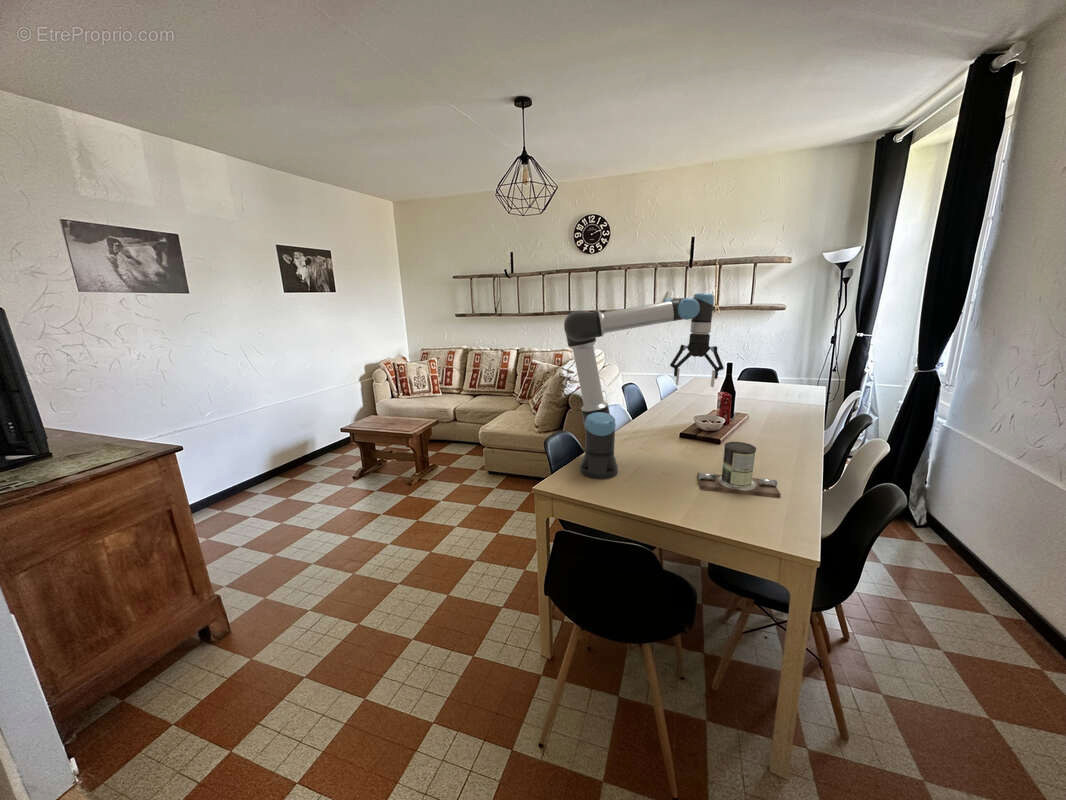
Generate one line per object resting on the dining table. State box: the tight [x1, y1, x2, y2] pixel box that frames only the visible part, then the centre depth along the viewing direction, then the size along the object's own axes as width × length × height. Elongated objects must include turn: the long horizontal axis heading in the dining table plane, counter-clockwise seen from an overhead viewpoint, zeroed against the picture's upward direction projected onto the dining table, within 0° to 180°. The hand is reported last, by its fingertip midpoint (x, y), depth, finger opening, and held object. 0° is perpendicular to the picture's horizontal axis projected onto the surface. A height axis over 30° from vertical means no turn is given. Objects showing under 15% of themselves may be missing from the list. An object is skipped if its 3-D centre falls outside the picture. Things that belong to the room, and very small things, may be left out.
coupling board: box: [696, 472, 781, 499], centre depth 152 cm, size 26×13×2 cm, turn 74°
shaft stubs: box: [698, 472, 778, 488], centre depth 152 cm, size 26×2×2 cm, turn 74°
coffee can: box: [721, 441, 757, 488], centre depth 150 cm, size 10×10×14 cm
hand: (694, 385), depth 168 cm, fingers open, 13 cm apart
